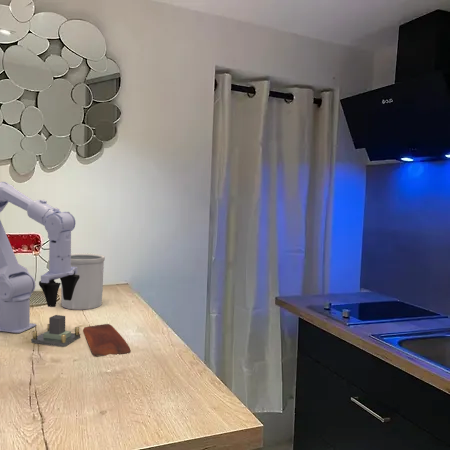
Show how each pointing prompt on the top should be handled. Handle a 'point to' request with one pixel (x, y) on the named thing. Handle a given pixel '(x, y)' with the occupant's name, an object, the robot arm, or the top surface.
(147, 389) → the top surface
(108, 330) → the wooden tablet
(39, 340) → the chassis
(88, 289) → the utensil holder
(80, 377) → the top surface
